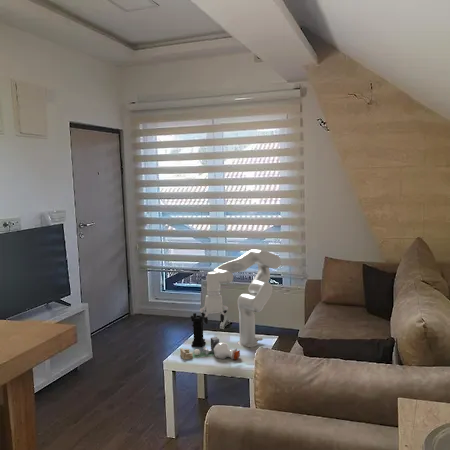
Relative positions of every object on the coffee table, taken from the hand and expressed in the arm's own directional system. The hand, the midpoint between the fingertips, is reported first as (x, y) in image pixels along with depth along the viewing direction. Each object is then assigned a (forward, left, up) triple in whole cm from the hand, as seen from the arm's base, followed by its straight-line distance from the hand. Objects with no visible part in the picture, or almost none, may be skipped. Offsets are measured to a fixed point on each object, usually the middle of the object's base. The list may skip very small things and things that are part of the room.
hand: (214, 322), depth 273 cm
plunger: (+2, 0, -18) cm, 18 cm away
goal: (+17, 0, -18) cm, 24 cm away
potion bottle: (-4, +10, -19) cm, 22 cm away
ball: (+11, 0, -16) cm, 19 cm away
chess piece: (+5, -17, -19) cm, 26 cm away
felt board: (+8, 0, -19) cm, 21 cm away
